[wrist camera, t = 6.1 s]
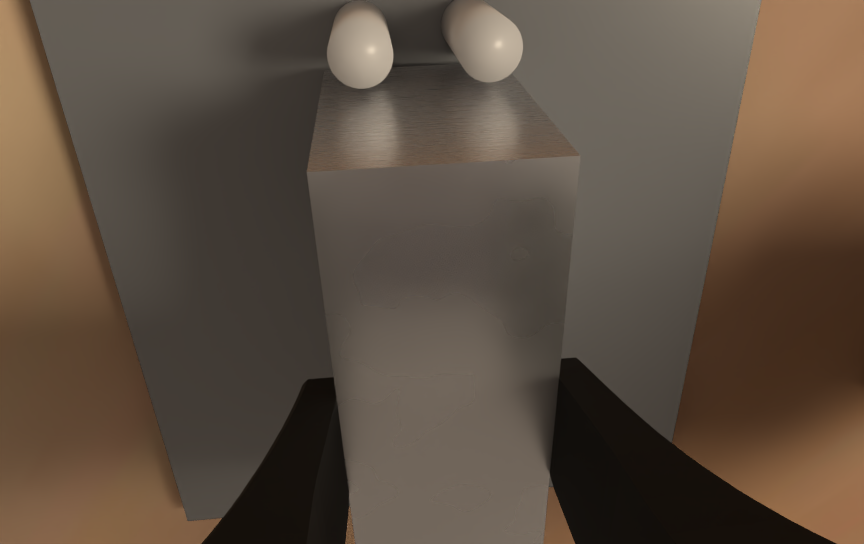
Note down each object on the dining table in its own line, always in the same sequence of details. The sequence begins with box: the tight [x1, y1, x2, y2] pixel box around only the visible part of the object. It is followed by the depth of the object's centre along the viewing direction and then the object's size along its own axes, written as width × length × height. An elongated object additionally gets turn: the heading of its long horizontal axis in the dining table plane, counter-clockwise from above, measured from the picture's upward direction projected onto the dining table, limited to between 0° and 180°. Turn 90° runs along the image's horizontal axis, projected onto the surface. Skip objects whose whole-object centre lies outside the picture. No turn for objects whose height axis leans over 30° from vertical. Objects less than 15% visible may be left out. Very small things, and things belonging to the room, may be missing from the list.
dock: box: [30, 0, 761, 521], centre depth 17 cm, size 16×17×4 cm
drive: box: [307, 64, 580, 544], centre depth 15 cm, size 4×10×6 cm, turn 2°
